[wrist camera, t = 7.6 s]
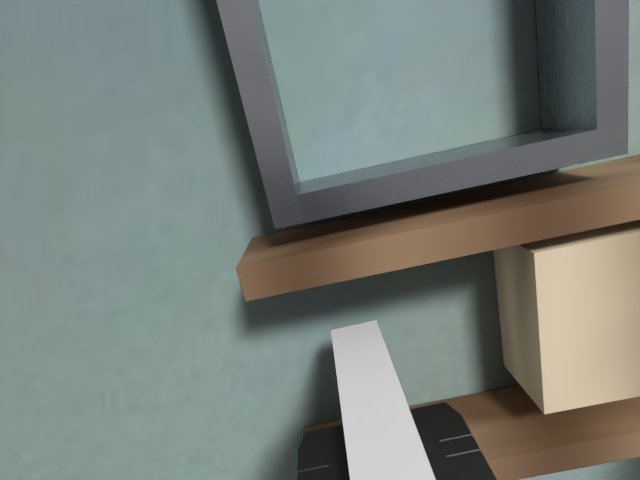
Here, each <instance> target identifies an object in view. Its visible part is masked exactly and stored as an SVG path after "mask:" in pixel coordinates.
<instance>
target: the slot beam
mask: <svg viewBox="0 0 640 480" xmlns="http://www.w3.org/2000/svg"><path fill="white" fill-rule="evenodd" d="M635 220H640V155H637V156H632V157H627V158H623V159H618V160H613V161H609V162H604V163H599V164H595V165H590V166H585V167H581V168H576V169H571V170H567V171H562V172H557V173H553V174H548V175H543V176H539V177H534V178H529V179H525V180H520V181H516V182H511V183H506V184H502V185H497V186H492V187H488V188H483V189H478V190H474V191H469V192H464V193H460V194H455V195H450V196H446V197H441V198H436V199H432V200H427V201H422V202H418V203H413V204H408V205H404V206H399V207H394V208H390V209H385V210H380V211H376V212H371V213H366V214H362V215H357V216H352V217H348V218H343V219H339V220H334V221H329V222H325V223H320V224H315V225H311V226H306V227H301V228H297V229H292V230H287V231H283V232H278V233H273V234H269V235H264V236H259V237H255V238H252V240H251V241H250V243H249V245H248V247H247V249H246V251H245V252H244V254H243V256H242V258H241V260H240V262H239V263H238V265H237V267H236V270H237V274H238V277H239V281H240V284H241V287H242V291H243V294H244V298H245V301H251V300H256V299H261V298H266V297H270V296H275V295H280V294H285V293H290V292H294V291H299V290H304V289H309V288H314V287H318V286H323V285H328V284H333V283H338V282H342V281H347V280H352V279H357V278H362V277H366V276H371V275H376V274H381V273H386V272H390V271H395V270H400V269H405V268H410V267H414V266H419V265H424V264H429V263H434V262H438V261H443V260H448V259H453V258H458V257H462V256H467V255H472V254H477V253H482V252H486V251H491V250H496V249H501V248H506V247H510V246H515V245H520V244H525V243H530V242H534V241H539V240H544V239H549V238H554V237H558V236H563V235H568V234H573V233H578V232H582V231H587V230H592V229H597V228H602V227H606V226H611V225H616V224H621V223H626V222H630V221H635ZM442 402H446V403H447V404H448V405H450V406H451V407H452V408H453V409H455V410H456V411H457V412H458V413H460V414H461V415H462V417H463V419H464V421H465V422H466V424H467V426H468V428H469V430H470V432H471V434H472V436H473V437H474V439H475V441H476V443H477V444H478V446H479V449H480V451H481V452H482V453H483V455H484V457H485V459H486V461H487V463H488V464H489V466H490V468H491V470H492V472H493V474H494V475H495V477H496V479H497V480H518V479H523V478H529V477H534V476H540V475H545V474H550V473H556V472H561V471H567V470H572V469H577V468H583V467H588V466H594V465H599V464H604V463H610V462H615V461H621V460H626V459H631V458H637V457H640V396H639V397H634V398H628V399H623V400H618V401H613V402H607V403H602V404H597V405H592V406H586V407H581V408H576V409H570V410H565V411H560V412H555V413H549V414H544V413H543V412H542V411H541V410H540V408H539V407H538V406H537V405H536V404H535V402H534V401H533V400H532V399H531V398H530V396H529V395H528V394H527V393H526V391H525V390H524V389H523V388H522V387H521V385H517V386H512V387H507V388H502V389H497V390H492V391H486V392H481V393H476V394H471V395H466V396H461V397H456V398H450V399H445V400H440V401H435V402H430V403H425V404H420V405H414V406H409V409H413V408H418V407H423V406H428V405H433V404H438V403H442ZM338 425H343V421H342V420H337V421H332V422H327V423H322V424H317V425H312V426H306V427H304V437H305V434H306V432H309V431H314V430H319V429H324V428H329V427H333V426H338Z"/></svg>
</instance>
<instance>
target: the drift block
mask: <svg viewBox="0 0 640 480" xmlns="http://www.w3.org/2000/svg"><path fill="white" fill-rule="evenodd" d="M493 253H494V263H495V274H496V285H497V296H498V306H499V317H500V328H501V339H502V349H503V360H504V366H505V367H506V368H507V369H508V371H509V372H510V373H511V374H512V376H513V377H514V378H515V379H516V380H517V382H518V383H519V384H520V385H521V387H522V388H523V389H524V390H525V391H526V393H527V394H528V395H529V396H530V398H531V399H532V400H533V401H534V402H535V404H536V405H537V406H538V407H539V408H540V410H541V411H542V412H543V413H544V414H549V413H555V412H560V411H565V410H570V409H576V408H581V407H586V406H592V405H597V404H602V403H607V402H613V401H618V400H623V399H628V398H634V397H639V396H640V220H635V221H630V222H626V223H621V224H616V225H611V226H606V227H602V228H597V229H592V230H587V231H582V232H578V233H573V234H568V235H563V236H558V237H554V238H549V239H544V240H539V241H534V242H530V243H525V244H520V245H515V246H510V247H506V248H501V249H496V250H493Z"/></svg>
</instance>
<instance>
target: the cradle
mask: <svg viewBox="0 0 640 480" xmlns="http://www.w3.org/2000/svg"><path fill="white" fill-rule="evenodd" d="M216 2H217V6H218V9H219V13H220V17H221V21H222V25H223V29H224V33H225V37H226V41H227V45H228V48H229V52H230V56H231V60H232V64H233V68H234V72H235V76H236V80H237V84H238V88H239V91H240V95H241V99H242V103H243V107H244V111H245V115H246V119H247V123H248V127H249V130H250V134H251V138H252V142H253V146H254V150H255V154H256V158H257V162H258V166H259V170H260V173H261V177H262V181H263V185H264V189H265V193H266V197H267V201H268V205H269V209H270V212H271V216H272V220H273V224H274V228H275V229H279V228H284V227H289V226H293V225H298V224H303V223H307V222H312V221H316V220H321V219H326V218H330V217H335V216H340V215H344V214H349V213H354V212H358V211H363V210H368V209H372V208H377V207H382V206H386V205H391V204H396V203H400V202H405V201H409V200H414V199H419V198H423V197H428V196H433V195H437V194H442V193H447V192H451V191H456V190H461V189H465V188H470V187H475V186H479V185H484V184H489V183H493V182H498V181H502V180H507V179H512V178H516V177H521V176H526V175H530V174H535V173H540V172H544V171H549V170H554V169H558V168H563V167H568V166H572V165H577V164H582V163H586V162H591V161H595V160H600V159H605V158H609V157H614V156H619V155H623V154H628V32H629V0H535V7H536V26H537V44H538V63H539V81H540V100H541V118H542V129H541V130H537V131H532V132H528V133H523V134H519V135H514V136H510V137H505V138H500V139H496V140H491V141H487V142H482V143H478V144H473V145H468V146H464V147H459V148H455V149H450V150H446V151H441V152H437V153H432V154H427V155H423V156H418V157H414V158H409V159H405V160H400V161H395V162H391V163H386V164H382V165H377V166H373V167H368V168H364V169H359V170H354V171H350V172H345V173H341V174H336V175H332V176H327V177H323V178H318V179H313V180H309V181H304V182H300V183H299V178H298V174H297V170H296V165H295V161H294V157H293V152H292V148H291V143H290V139H289V135H288V130H287V126H286V122H285V117H284V113H283V109H282V104H281V100H280V96H279V91H278V87H277V83H276V78H275V74H274V70H273V65H272V61H271V56H270V52H269V48H268V43H267V39H266V35H265V30H264V26H263V22H262V17H261V13H260V9H259V4H258V0H216Z"/></svg>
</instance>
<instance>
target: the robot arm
mask: <svg viewBox="0 0 640 480" xmlns="http://www.w3.org/2000/svg"><path fill="white" fill-rule="evenodd" d="M331 335H332V343H333V351H334V359H335V367H336V374H337V382H338V390H339V398H340V406H341V414H342V421H343V425H338V426H333V427H329V428H324V429H319V430H314V431H309V432H306V434H305V437H304V439H303V441H302V443H301V445H300V447H299V449H298V479H297V480H497V479H496V477H495V475H494V474H493V472H492V470H491V468H490V466H489V464H488V463H487V461H486V459H485V457H484V455H483V453H482V452H481V451H480V449H479V446H478V444H477V443H476V441H475V439H474V437H473V436H472V434H471V432H470V430H469V428H468V426H467V424H466V422H465V421H464V419H463V417H462V415H461V414H460V413H458V412H457V411H456V410H455V409H453V408H452V407H451V406H450V405H448V404H447V403H446V402H442V403H438V404H433V405H428V406H423V407H418V408H413V409H409V407H408V404H407V401H406V398H405V396H404V393H403V390H402V388H401V385H400V382H399V380H398V377H397V374H396V372H395V369H394V366H393V364H392V361H391V358H390V356H389V353H388V350H387V348H386V345H385V342H384V339H383V337H382V334H381V331H380V329H379V326H378V323H377V321H371V322H366V323H362V324H357V325H352V326H348V327H343V328H338V329H334V330H331Z"/></svg>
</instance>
